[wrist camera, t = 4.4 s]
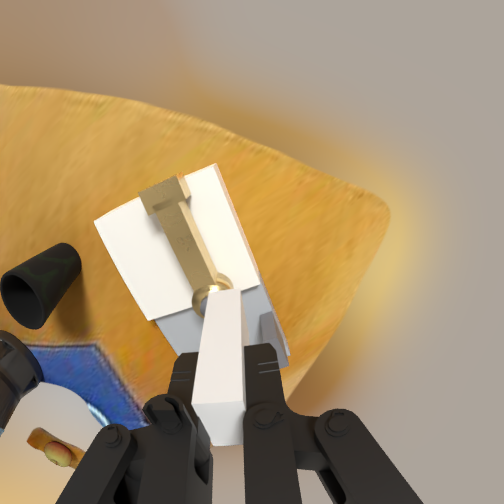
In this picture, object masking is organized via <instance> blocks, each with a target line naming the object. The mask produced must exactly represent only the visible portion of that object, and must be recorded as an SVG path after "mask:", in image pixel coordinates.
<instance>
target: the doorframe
mask: <svg viewBox="0 0 504 504" xmlns="http://www.w3.org/2000/svg"><path fill="white" fill-rule="evenodd" d="M184 177H185V180H186V182H187V185H188V187H189V189H190V192H191V194H190V196H189V197H188V198H187V199H186V202H187V205H188V207H189V209H190V211H191V214H192V216H193V218H194V221H195V223H196V225H197V227H198V230H199V232H200V234H201V236H202V239H203V241H204V243H205V245H206V248H207V250H208V252H209V254H210V256H211V259H212V261H213V263H214V265H215V267H216V270H217V272H219V273H222V274H224V275H226V276H227V277H228V278H229V279H230V280H231V281H232V283H233V286H234V289H236V288H240V289H241V294H242V300H243V305H244V310H245V316H246V321H247V326H248V331H249V345H256V344H263V343H270V344H271V345H272V346H273V347H274V348H275V350H276V352H277V358H278V363H279V369H280V368H284V367H287V366H289V363H288V358H287V356H289V355H290V351H289V347H288V342H287V340H286V337H285V335H284V332H283V330H282V327H281V325H280V322H279V320H278V317H277V315H276V312H275V310H274V307H273V305H272V302H271V300H270V297H269V294H268V292H267V289H266V287H265V284H264V282H263V279H262V277H261V274H260V272H259V271H258V267H257V264H256V262H255V259H254V257H253V254H252V252H251V249H250V247H249V244H248V242H247V239H246V236H245V234H244V231H243V229H242V226H241V224H240V221H239V219H238V216H237V214H236V211H235V209H234V206H233V204H232V201H231V199H230V196H229V194H228V191H227V189H226V186H225V184H224V181H223V178H222V176H221V173H220V171H219V168H218V166H217V163H215V164H213V165H210V166H208V167H205V168H203V169H200V170H198V171H196V172H193V173H191V174H188V175H186V176H184ZM94 224H95V226H96V228H97V230H98V232H99V234H100V236H101V238H102V240H103V242H104V244H105V246H106V248H107V250H108V252H109V254H110V256H111V258H112V260H113V261H114V263H115V265H116V267H117V269H118V271H119V272H120V274H121V276H122V278H123V280H124V281H125V283H126V285H127V287H128V288H129V290H130V292H131V294H132V295H133V297H134V299H135V300H136V302H137V304H138V305H139V307H140V309H141V310H142V312H143V313H144V315H145V317H146V318H147V320H148V321H149V320H152V319H154V320H155V322H156V323H157V325H158V326H159V328H160V329H161V331H162V332H163V334H164V336H165V337H166V339H167V340H168V342H169V343H170V345H171V346H172V348H173V349H174V350H175V352H176V353H177V355H178V356H180V354H181V353H188V352H199V349H200V342H201V336H202V330H203V324H204V319H203V318H201V317H200V316H198V315H197V314H196V313H195V311H194V310H193V308H192V296H193V292H194V291H193V289H192V287H191V285H190V283H189V281H188V279H187V277H186V275H185V273H184V271H183V269H182V267H181V265H180V263H179V261H178V259H177V257H176V255H175V253H174V251H173V249H172V247H171V245H170V243H169V241H168V239H167V237H166V234H165V232H164V230H163V228H162V226H161V224H160V222H159V219H158V217H157V215H156V213H154V214H151V215H149V216H148V214H147V212H146V210H145V208H144V206H143V203H142V201H141V199H140V197H137V198H135V199H133V200H131V201H129V202H127V203H125V204H123V205H121V206H119V207H117V208H115V209H113V210H111V211H110V212H108V213H106V214H105V215H103V216H102V217H100V218H98V219H97V220H95V221H94ZM207 300H208V296H206V297H204V298H203V299H202V301H201V305H200V312H201V314H202V315H203V316H204V317H205V312H206V306H207Z"/></svg>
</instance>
